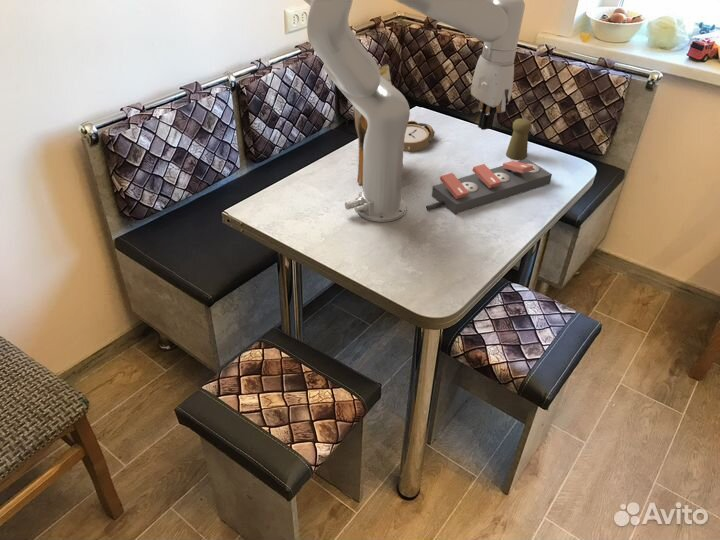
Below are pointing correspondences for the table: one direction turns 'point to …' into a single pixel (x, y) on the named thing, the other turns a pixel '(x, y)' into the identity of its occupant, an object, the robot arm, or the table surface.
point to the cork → (519, 140)
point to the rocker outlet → (517, 167)
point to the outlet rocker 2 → (486, 176)
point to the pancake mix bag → (366, 125)
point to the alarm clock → (417, 136)
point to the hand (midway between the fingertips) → (484, 127)
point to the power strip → (485, 195)
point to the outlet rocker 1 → (454, 185)
